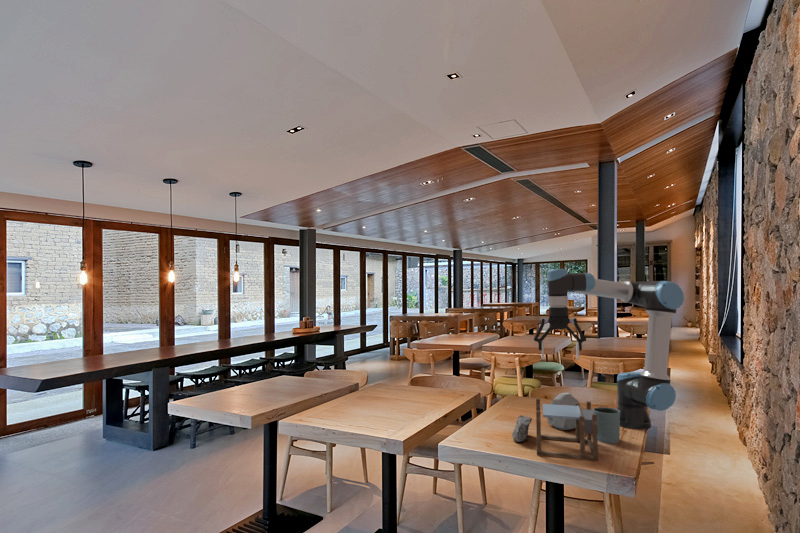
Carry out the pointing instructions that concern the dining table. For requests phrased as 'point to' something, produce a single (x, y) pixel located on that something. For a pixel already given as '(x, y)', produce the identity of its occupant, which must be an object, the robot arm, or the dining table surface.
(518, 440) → the rock
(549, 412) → the grey hammer-shaped piece
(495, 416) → the dining table surface
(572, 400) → the stone
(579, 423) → the brown wooden frame
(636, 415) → the robot arm
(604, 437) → the grey-green cylindrical pot
